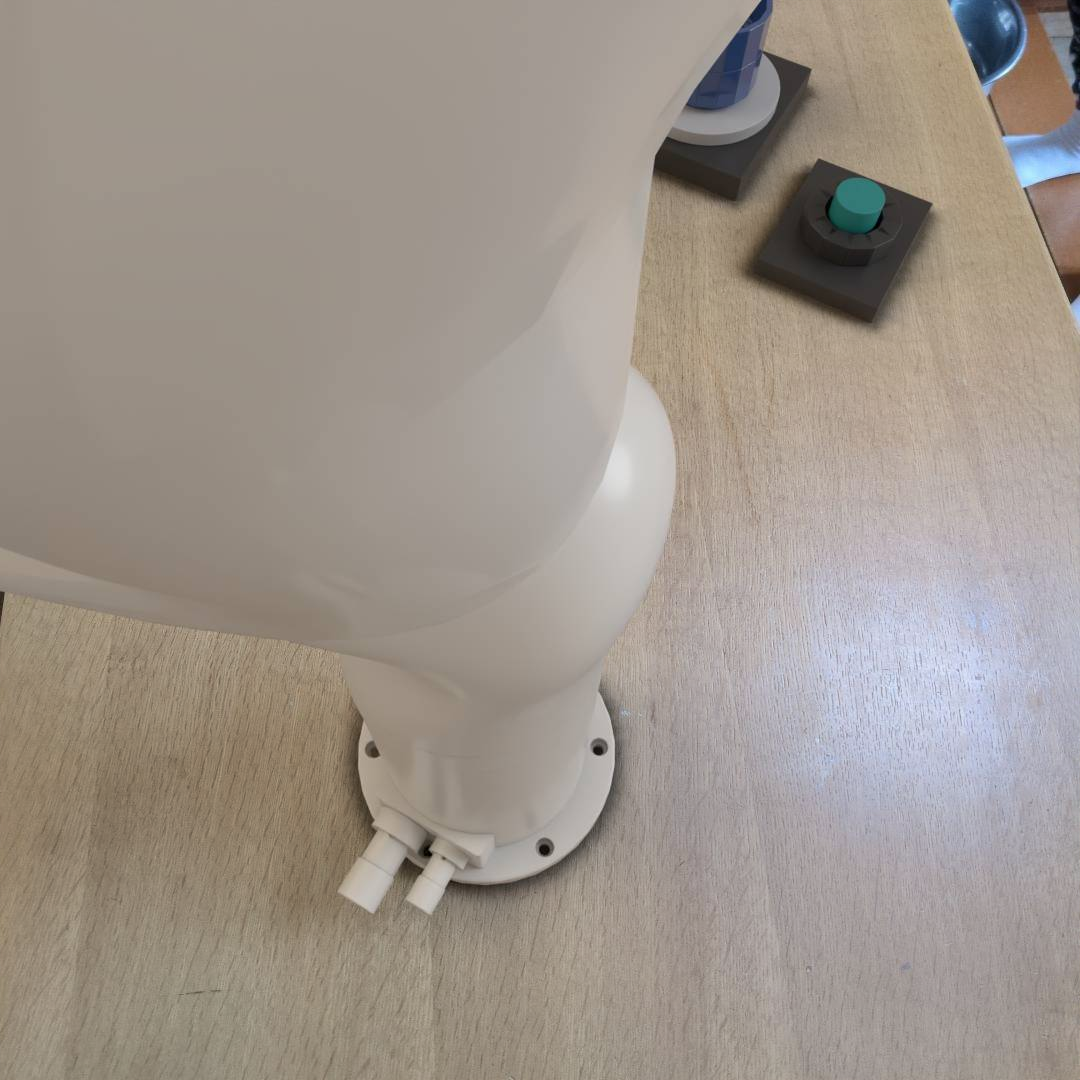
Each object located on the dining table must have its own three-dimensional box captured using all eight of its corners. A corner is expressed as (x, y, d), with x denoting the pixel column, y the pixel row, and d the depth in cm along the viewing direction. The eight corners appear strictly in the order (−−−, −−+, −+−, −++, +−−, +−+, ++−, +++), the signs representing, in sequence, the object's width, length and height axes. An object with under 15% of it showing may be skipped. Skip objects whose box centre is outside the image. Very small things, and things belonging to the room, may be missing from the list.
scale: (735, 202, 68) (744, 167, 66) (588, 142, 71) (591, 106, 68) (805, 92, 73) (815, 56, 70) (665, 39, 75) (671, 2, 73)
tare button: (866, 241, 64) (875, 220, 62) (821, 223, 64) (828, 202, 63) (883, 209, 65) (892, 188, 63) (839, 191, 65) (846, 170, 64)
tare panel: (871, 324, 64) (886, 292, 61) (753, 273, 66) (763, 240, 63) (925, 218, 68) (942, 184, 65) (813, 173, 70) (824, 138, 67)
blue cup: (729, 127, 67) (747, 47, 62) (641, 92, 68) (652, 11, 63) (768, 69, 70) (789, -14, 64) (683, 36, 71) (696, -47, 66)
